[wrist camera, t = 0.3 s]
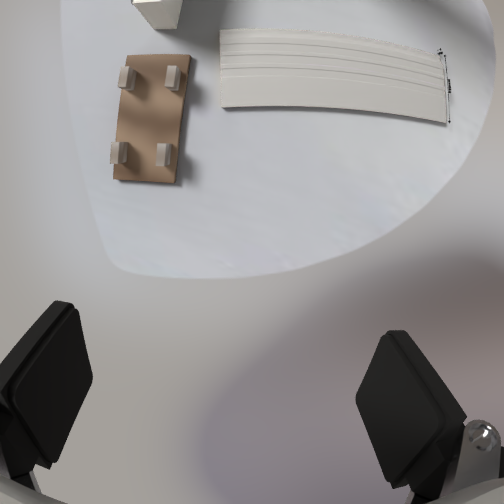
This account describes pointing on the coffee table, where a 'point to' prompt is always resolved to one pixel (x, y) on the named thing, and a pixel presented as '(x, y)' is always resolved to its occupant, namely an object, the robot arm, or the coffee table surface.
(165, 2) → the cabinet door
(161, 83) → the hinge mount
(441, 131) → the coffee table surface
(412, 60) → the baseboard molding
